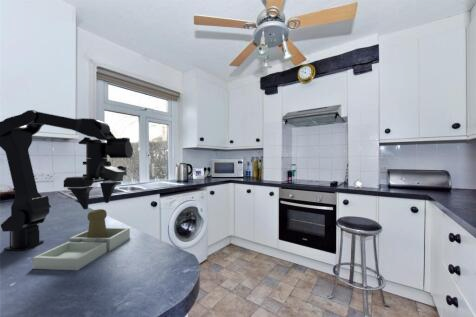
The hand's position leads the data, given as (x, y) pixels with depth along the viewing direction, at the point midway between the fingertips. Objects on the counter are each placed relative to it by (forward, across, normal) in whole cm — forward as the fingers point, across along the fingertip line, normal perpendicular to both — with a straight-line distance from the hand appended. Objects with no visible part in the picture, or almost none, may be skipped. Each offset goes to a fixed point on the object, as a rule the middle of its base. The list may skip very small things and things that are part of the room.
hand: (97, 205), depth 67 cm
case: (+12, 0, -2) cm, 12 cm away
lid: (+12, -11, -2) cm, 16 cm away
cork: (+12, 0, 0) cm, 12 cm away
